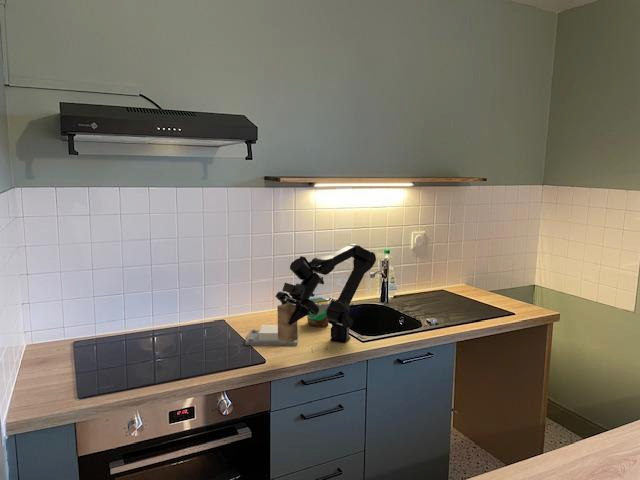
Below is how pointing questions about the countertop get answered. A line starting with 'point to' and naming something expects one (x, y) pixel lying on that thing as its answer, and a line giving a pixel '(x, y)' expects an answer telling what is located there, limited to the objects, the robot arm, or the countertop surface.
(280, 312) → the walnut brick
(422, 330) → the countertop surface
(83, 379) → the countertop surface
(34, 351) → the countertop surface
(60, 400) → the countertop surface
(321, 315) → the food container
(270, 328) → the base brick
